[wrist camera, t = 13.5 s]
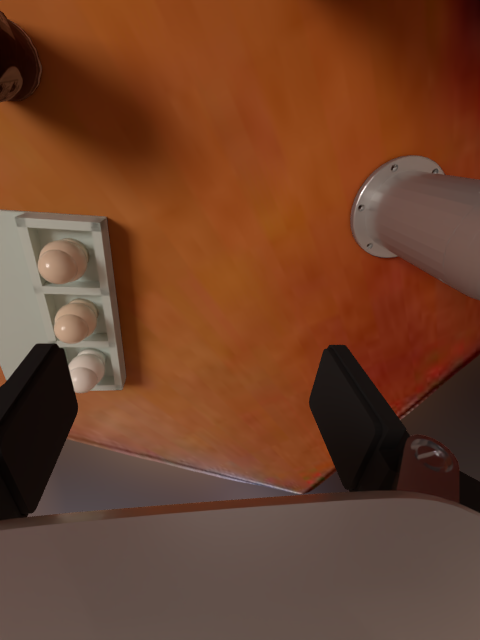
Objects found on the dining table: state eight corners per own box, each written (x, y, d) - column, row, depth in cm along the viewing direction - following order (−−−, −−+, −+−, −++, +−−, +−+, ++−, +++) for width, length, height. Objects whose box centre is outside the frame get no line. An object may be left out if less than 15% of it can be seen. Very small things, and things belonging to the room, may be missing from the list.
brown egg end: (89, 235, 36) (71, 252, 31) (95, 273, 38) (79, 294, 33) (46, 233, 35) (19, 249, 30) (54, 271, 38) (31, 293, 32)
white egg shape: (107, 346, 44) (95, 375, 39) (110, 371, 46) (98, 402, 41) (72, 344, 43) (54, 374, 38) (76, 370, 46) (60, 401, 40)
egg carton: (-58, 205, 33) (-79, 211, 31) (106, 216, 36) (99, 222, 33) (8, 378, 46) (-3, 392, 43) (126, 376, 49) (122, 390, 46)
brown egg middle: (99, 296, 40) (84, 319, 35) (104, 326, 42) (91, 353, 37) (60, 294, 39) (39, 319, 34) (67, 326, 42) (48, 353, 36)
